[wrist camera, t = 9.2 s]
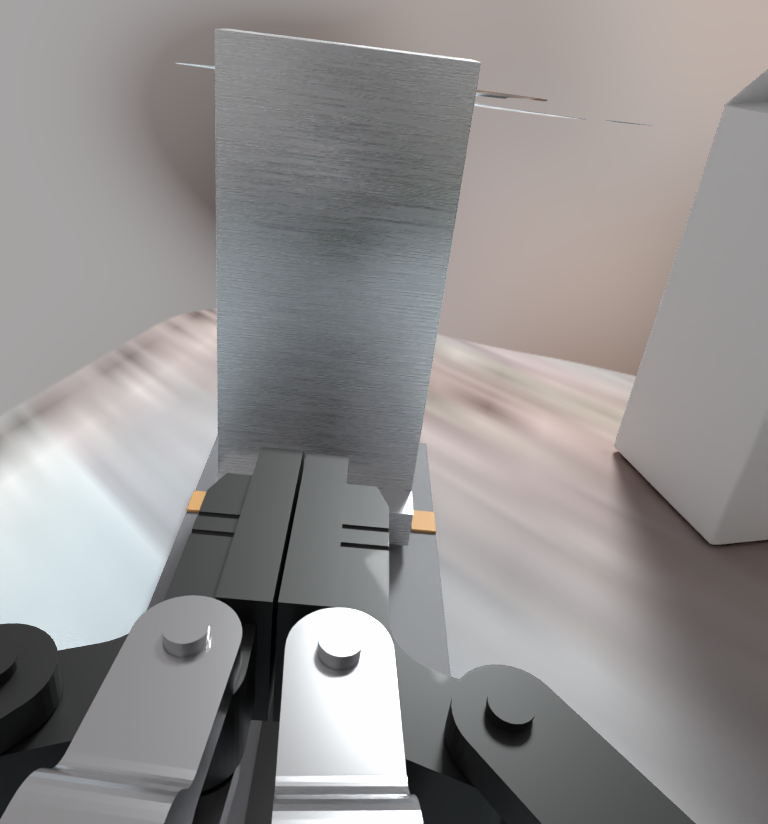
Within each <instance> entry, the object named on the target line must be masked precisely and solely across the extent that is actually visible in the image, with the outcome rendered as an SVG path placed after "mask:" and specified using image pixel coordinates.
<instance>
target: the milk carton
mask: <svg viewBox="0 0 768 824" xmlns="http://www.w3.org/2000/svg"><path fill="white" fill-rule="evenodd" d="M614 446H615V448H616V449H617V450H618V451H619V452H620V453H621V454H622V455H623V456H624V457H625V458H626V459H627V460H628V461H629V462H630V463H631V464H632V465H633V466H634V468H635V469H636V470H637V471H638V472H639V473H640V474H641V475H642V476H643V477H644V478H645V479H646V480H647V481H648V482H649V483H650V484H651V485H652V486H653V487H654V488H655V489H656V490H657V491H658V492H659V493H660V494H661V495H662V496H663V497H664V498H665V499H666V500H667V501H668V502H669V503H670V504H671V505H672V506H673V507H674V508H675V509H676V510H677V511H678V512H679V513H680V514H681V515H682V516H683V517H684V518H685V519H686V520H687V521H688V522H689V523H690V524H691V525H692V526H693V527H694V528H695V529H696V530H697V531H698V532H699V533H700V534H701V535H702V536H703V537H704V538H705V539H706V540H707V541H708V542H709V543H710V544H712V545H719V544H730V543H740V542H749V541H759V540H768V69H767V70H766V71H765V72H764V73H762V74H761V75H760V76H759V77H758V78H756V80H754V81H753V82H752V83H750V84H749V85H748V86H747V87H746V88H744V89H743V90H742V91H741V92H740V93H738V94H737V95H736V96H735V97H733V98H732V99H731V100H730V101H729V102H728V103H726V104H725V105H724V110H723V113H722V116H721V119H720V122H719V125H718V128H717V131H716V134H715V137H714V141H713V144H712V147H711V150H710V153H709V156H708V159H707V162H706V165H705V168H704V171H703V174H702V178H701V180H700V183H699V187H698V190H697V193H696V196H695V199H694V202H693V205H692V208H691V211H690V214H689V217H688V220H687V223H686V226H685V229H684V232H683V236H682V239H681V242H680V245H679V248H678V251H677V254H676V257H675V260H674V263H673V266H672V269H671V272H670V275H669V278H668V281H667V284H666V288H665V291H664V294H663V297H662V300H661V303H660V306H659V309H658V312H657V315H656V318H655V321H654V324H653V327H652V330H651V333H650V337H649V340H648V343H647V346H646V349H645V352H644V355H643V358H642V361H641V364H640V367H639V370H638V374H637V376H636V379H635V382H634V385H633V388H632V392H631V395H630V398H629V401H628V404H627V407H626V410H625V413H624V416H623V419H622V422H621V425H620V428H619V431H618V434H617V437H616V441H615V444H614Z"/></svg>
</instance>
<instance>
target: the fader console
mask: <svg viewBox="0 0 768 824" xmlns="http://www.w3.org/2000/svg"><path fill="white" fill-rule="evenodd" d="M217 475H218V436H217V438H216V441H215V443H214V446H213V448H212V450H211V453H210V455H209V458H208V460H207V463H206V465H205V468H204V470H203V473H202V475H201V478H200V480H199V483H198V485H197V488H196V490H195V491H194V492H193V495H192V497H191V500H190V502H189V505H188V507H187V512H186V515H185V517H184V520H183V522H182V525H181V527H180V530H179V532H178V535H177V537H176V540H175V542H174V545H173V547H172V550H171V552H170V555H169V557H168V560H167V562H166V565H165V567H164V569H163V572H162V574H161V577H160V579H159V582H158V584H157V587H156V589H155V592H154V594H153V597H152V599H151V602H150V604H149V607H148V609H147V610H149V609H150V608H152V607H153V606H155V605H157V604H159V603H161V602H163V601H164V598H165V596H166V593H167V591H168V588H169V586H170V583H171V581H172V578H173V576H174V573H175V571H176V568H177V565H178V563H179V560H180V558H181V555H182V553H183V550H184V548H185V545H186V543H187V540H188V537H189V535H190V533H191V532H192V527H193V525H194V522H195V520H196V517H197V516H198V514H199V510H200V507H201V504H202V502H203V499H204V497H205V494H206V492H207V490H208V489H209V488H210V487H211V486H212V485H214V483H215V480H216V478H217ZM412 505H413V518H412V524H411V530H410V536H409V542H408V546H405V545H393V544H389V623H390V628H391V631H392V634H393V636H394V638H395V640H396V642H397V643H398V644H399V646H400V647H401V648H402V649H403V650H404V652H405V653H406V654H407V655H409V656H410V657H411V658H412V659H414V660H415V661H417V662H418V663H420V664H422V665H423V666H425V667H428V668H430V669H432V670H434V671H437V672H440V673H443V674H445V675H448V676H451V675H450V665H449V656H448V646H447V637H446V627H445V618H444V608H443V599H442V589H441V580H440V570H439V561H438V551H437V541H436V525H435V516H434V512H433V503H432V494H431V484H430V475H429V465H428V456H427V446H426V444H425V443H419V448H418V454H417V460H416V467H415V473H414V479H413V485H412ZM273 699H274V688H273V694H272V700H271V705H270V711H269V717H268V721H258V720H251V722H250V727H249V732H248V737H247V742H246V747H245V751H244V755H243V758H242V760H241V770H240V775H239V779H238V783H237V787H236V790H235V794H234V797H233V801H232V804H231V808H230V811H229V815H228V819H227V822H226V824H272V813H273V801H274V794H275V781H276V768H277V754H278V740H279V726H280V722H275V721H273Z"/></svg>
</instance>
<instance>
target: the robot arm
mask: <svg viewBox="0 0 768 824" xmlns="http://www.w3.org/2000/svg"><path fill="white" fill-rule="evenodd" d="M348 460H349V455H345V454H334V453H324V452H313V451H307V455H306V460H305V465H304V451H301V450H290V449H280V448H270V447H261V449H260V452H259V455H258V459H257V462H256V465H255V468H254V472H253V475H244V474H234V473H226V474H225V475H224V476H223V477H222V478H220V479H219V480H218V481H217V482H216V483H215V484H214V485H212V486H211V487H210V488H209V489H208V490H207V492H206V494H205V497H204V499H203V502H202V504H201V507H200V510H199V514H198V516H197V517H196V520H195V522H194V525H193V527H192V532H191V533H190V535H189V537H188V540H187V543H186V545H185V548H184V550H183V553H182V555H181V558H180V560H179V563H178V565H177V568H176V571H175V573H174V576H173V578H172V581H171V583H170V586H169V588H168V591H167V593H166V596H165V598H164V601H163V602H161V603H159V604H157V605H155V606H153V607H152V608H150V609H149V610H147V611H146V612H145V613H144V614H142V615H141V617H140V618H139V619H138V620H137V621H136V622H135V624H134V626H133V627H132V629H131V631H130V633H129V634H127V635H125V636H122V637H120V638H117V639H114V640H111V641H107V642H103V643H99V644H93V645H87V646H82V647H76V648H70V649H65V650H59V651H57V647H56V645H55V642H54V641H53V639H52V638H51V637H50V635H48V634H47V633H46V632H44V631H43V630H41V629H39V628H37V627H34V626H30V625H26V624H18V623H16V624H0V824H226V822H227V819H228V815H229V811H230V808H231V804H232V801H233V797H234V794H235V790H236V787H237V783H238V779H239V775H240V770H241V760H242V758H243V755H244V751H245V747H246V742H247V737H248V732H249V727H250V722H251V720H258V721H268V717H269V711H270V705H271V700H272V694H273V688H274V699H273V721H275V722H280V726H279V740H278V754H277V768H276V781H275V794H274V801H273V813H272V824H695V823H694V822H693V821H692V820H691V819H690V818H689V817H688V816H687V815H686V814H685V813H684V812H682V811H681V810H680V809H679V808H678V807H677V806H676V805H675V804H674V803H673V802H672V801H671V800H670V799H668V798H667V797H666V796H665V795H664V794H663V793H662V792H661V791H660V790H659V789H658V788H657V787H656V786H654V785H653V784H652V783H651V782H650V781H649V780H648V779H647V778H646V777H645V776H644V775H643V774H642V773H640V772H639V771H638V770H637V769H636V768H635V767H634V766H633V765H632V764H631V763H630V762H629V761H628V760H626V759H625V758H624V757H623V756H622V755H621V754H620V753H619V752H618V751H617V750H616V749H615V748H614V747H612V746H611V745H610V744H609V743H608V742H607V741H606V740H605V739H604V738H603V737H602V736H601V735H600V734H598V733H597V732H596V731H595V730H594V729H593V728H592V727H591V726H590V725H589V724H588V723H587V722H586V721H584V720H583V719H582V718H581V717H580V716H579V715H578V714H577V713H576V712H575V711H574V710H573V709H571V708H570V707H569V706H568V705H567V704H566V703H565V702H564V701H563V700H562V699H561V698H560V697H559V696H557V695H556V694H555V693H554V692H553V691H552V690H551V689H550V688H549V687H548V686H547V685H545V684H544V683H543V682H542V681H541V680H539V679H538V678H536V677H535V676H533V675H531V674H530V673H527V672H525V671H523V670H521V669H518V668H515V667H511V666H505V665H486V666H481V667H478V668H475V669H473V670H471V671H469V672H468V673H466V674H465V675H464V676H463V677H462V678H461V679H460V680H459V679H456V678H453V677H451V676H448V675H445V674H443V673H440V672H437V671H434V670H432V669H430V668H428V667H425V666H423V665H422V664H420V663H418V662H417V661H415V660H414V659H412V658H411V657H410V656H409V655H407V654H406V653H405V652H404V650H403V649H402V648H401V647H400V646H399V644H398V643H397V642H396V640H395V638H394V636H393V634H392V631H391V628H390V623H389V506H388V504H387V502H386V501H385V499H384V498H383V496H382V494H381V493H380V491H379V489H378V488H377V487H375V486H364V485H353V484H346V482H347V471H348Z"/></svg>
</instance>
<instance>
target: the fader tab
mask: <svg viewBox="0 0 768 824" xmlns="http://www.w3.org/2000/svg"><path fill="white" fill-rule="evenodd" d="M480 65H481V63H480V62H477V61H475V60H471V59H462V58H455V57H447V56H439V55H430V54H424V53H416V52H408V51H399V50H392V49H384V48H376V47H368V46H361V45H353V44H345V43H337V42H329V41H321V40H313V39H305V38H297V37H289V36H282V35H274V34H266V33H258V32H250V31H241V30H234V29H215V117H216V118H215V124H216V125H215V126H216V127H215V130H216V249H217V250H216V252H217V253H216V256H217V257H216V260H217V390H218V475H217V478H216V480H215V483H216V482H217V481H218V480H219V479H220V478H222V477H223V476H224V475H225V474H226V473H234V474H244V475H253V472H254V468H255V465H256V462H257V459H258V455H259V452H260V449H261V447H270V448H280V449H290V450H301V451H304V465H305V460H306V455H307V451H313V452H324V453H334V454H345V455H349V460H348V471H347V482H346V484H353V485H364V486H375V487H377V488H378V489H379V491H380V493H381V494H382V496H383V498H384V499H385V501H386V502H387V504H388V506H389V544H393V545H405V546H408V542H409V536H410V530H411V524H412V518H413V505H412V485H413V479H414V473H415V467H416V460H417V454H418V448H419V442H420V436H421V430H422V423H423V417H424V411H425V405H426V399H427V392H428V386H429V380H430V374H431V368H432V362H433V355H434V349H435V343H436V337H437V331H438V325H439V318H440V312H441V306H442V300H443V294H444V288H445V281H446V275H447V269H448V263H449V256H450V250H451V244H452V238H453V231H454V225H455V219H456V213H457V207H458V200H459V195H460V188H461V183H462V176H463V170H464V164H465V158H466V151H467V145H468V138H469V133H470V127H471V121H472V115H473V108H474V102H475V96H476V90H477V84H478V78H479V71H480ZM215 483H214V484H215Z"/></svg>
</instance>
